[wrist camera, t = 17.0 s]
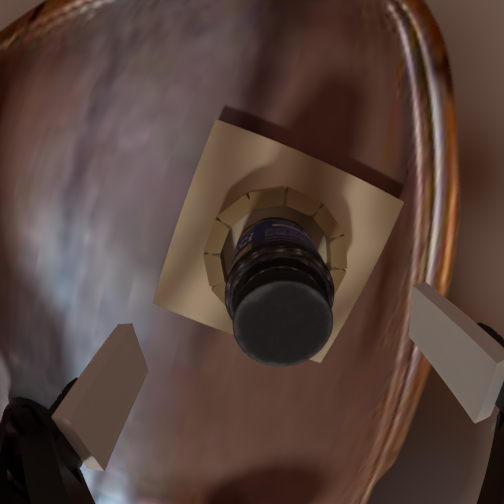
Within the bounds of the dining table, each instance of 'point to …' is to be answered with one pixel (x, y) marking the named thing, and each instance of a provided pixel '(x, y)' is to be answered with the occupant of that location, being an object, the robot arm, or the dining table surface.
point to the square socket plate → (266, 206)
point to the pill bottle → (279, 294)
